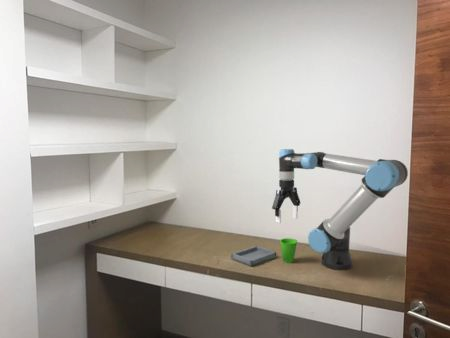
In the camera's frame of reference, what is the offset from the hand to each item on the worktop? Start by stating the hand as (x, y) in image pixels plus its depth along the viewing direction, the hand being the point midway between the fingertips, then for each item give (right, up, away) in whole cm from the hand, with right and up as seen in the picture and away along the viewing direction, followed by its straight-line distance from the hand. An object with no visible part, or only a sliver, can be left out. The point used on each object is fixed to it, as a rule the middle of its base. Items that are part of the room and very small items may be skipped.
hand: (286, 220), depth 185 cm
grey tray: (-17, -21, +6) cm, 27 cm away
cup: (+1, -22, +1) cm, 22 cm away
